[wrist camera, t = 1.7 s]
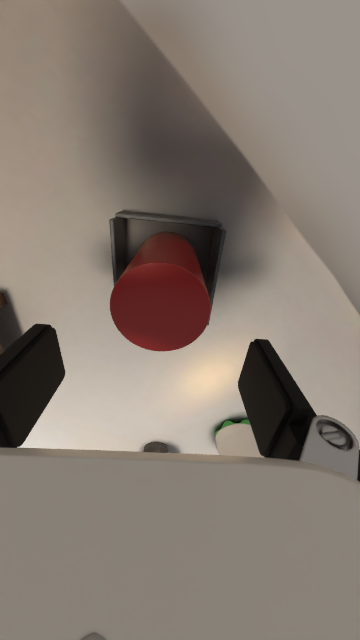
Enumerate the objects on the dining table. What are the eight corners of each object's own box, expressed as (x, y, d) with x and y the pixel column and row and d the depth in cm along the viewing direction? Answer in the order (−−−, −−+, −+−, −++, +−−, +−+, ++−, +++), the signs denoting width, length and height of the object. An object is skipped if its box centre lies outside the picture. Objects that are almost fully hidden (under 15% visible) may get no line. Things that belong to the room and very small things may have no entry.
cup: (263, 445, 41) (299, 552, 29) (205, 449, 42) (217, 556, 29) (270, 407, 36) (319, 520, 23) (203, 412, 36) (216, 525, 24)
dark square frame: (121, 211, 21) (108, 215, 17) (217, 220, 21) (226, 226, 17) (125, 299, 25) (116, 318, 21) (203, 305, 26) (208, 325, 22)
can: (137, 228, 21) (105, 257, 12) (201, 234, 22) (219, 267, 12) (137, 288, 25) (113, 348, 15) (193, 293, 25) (203, 354, 15)
